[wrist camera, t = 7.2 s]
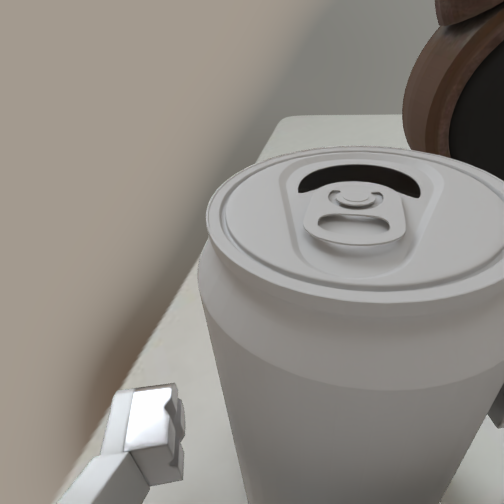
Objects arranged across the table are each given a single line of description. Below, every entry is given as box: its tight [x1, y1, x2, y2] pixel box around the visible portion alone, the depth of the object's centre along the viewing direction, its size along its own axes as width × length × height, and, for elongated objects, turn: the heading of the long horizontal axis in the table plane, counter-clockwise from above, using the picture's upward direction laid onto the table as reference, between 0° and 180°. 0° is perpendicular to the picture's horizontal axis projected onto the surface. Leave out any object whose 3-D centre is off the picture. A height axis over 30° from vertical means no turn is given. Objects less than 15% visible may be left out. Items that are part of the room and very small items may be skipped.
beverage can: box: [198, 146, 504, 504], centre depth 10 cm, size 6×6×12 cm
